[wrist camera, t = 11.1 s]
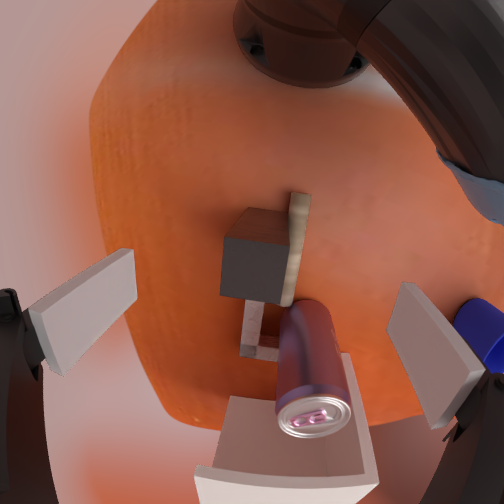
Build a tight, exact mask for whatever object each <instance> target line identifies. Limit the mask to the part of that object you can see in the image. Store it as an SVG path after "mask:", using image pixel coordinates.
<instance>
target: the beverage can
mask: <svg viewBox="0 0 504 504" xmlns="http://www.w3.org/2000/svg"><path fill="white" fill-rule="evenodd" d="M350 408H351V396H350V392H349V387H348V383H347V378H346V374H345V370H344V366H343V361H342V357H341V353H340V349H339V345H338V341H337V337H336V333H335V330H334V326H333V322H332V318H331V315H330V312H329V310H328V309H327V308H326V307H325V306H324V305H323V304H321V303H320V302H317V301H314V300H301V301H297V302H295V303H293V304H292V305H291V306H289V307H287V308H286V309H285V311H284V312H283V314H282V316H281V319H280V336H279V356H278V373H277V389H276V404H275V413H276V416H277V423H278V426H279V427H280V429H281V430H282V431H283V432H285V433H286V434H288V435H291V436H294V437H298V438H319V437H324V436H327V435H330V434H333V433H335V432H337V431H338V430H340V429H341V428H343V427H344V426H345V425H346V424H347V422H348V421H349V419H350V416H351V409H350Z"/></svg>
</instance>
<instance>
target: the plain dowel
mask: <svg viewBox="0 0 504 504" xmlns="http://www.w3.org/2000/svg"><path fill="white" fill-rule="evenodd" d="M310 202H311V195H309V194H304V193H298V192H291V199H290V206H289V213H288V225H289V238H290V250H289V256H288V262H287V268H286V274H285V280H284V285H283V291H282V297H281V302H280V305H279V304H277V305H279V306H282V307H289V306H291V305H292V302H293V297H294V292H295V287H296V282H297V277H298V272H299V266H300V261H301V256H302V250H303V244H304V239H305V233H306V227H307V221H308V215H309V208H310Z"/></svg>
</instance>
